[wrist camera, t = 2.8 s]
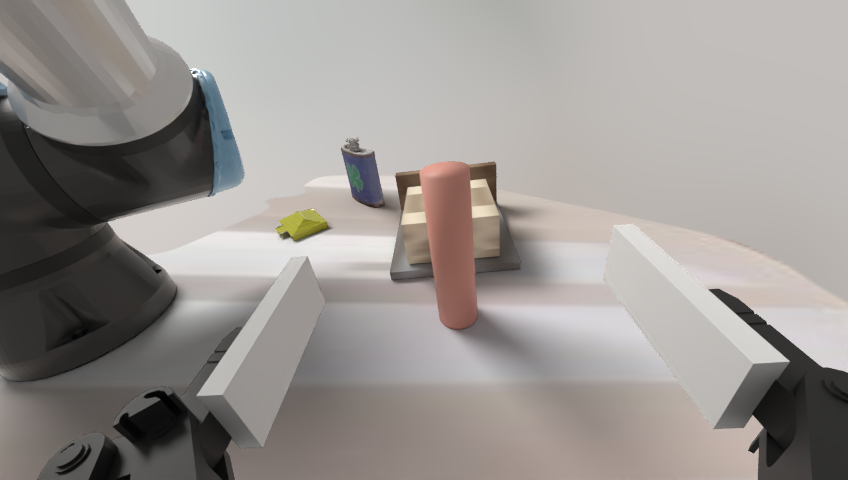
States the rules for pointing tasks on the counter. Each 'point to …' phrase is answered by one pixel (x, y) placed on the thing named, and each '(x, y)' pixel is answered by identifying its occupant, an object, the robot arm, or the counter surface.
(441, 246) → the dowel
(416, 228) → the socket block
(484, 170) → the grey fixture base
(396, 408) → the counter surface
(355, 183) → the flask
